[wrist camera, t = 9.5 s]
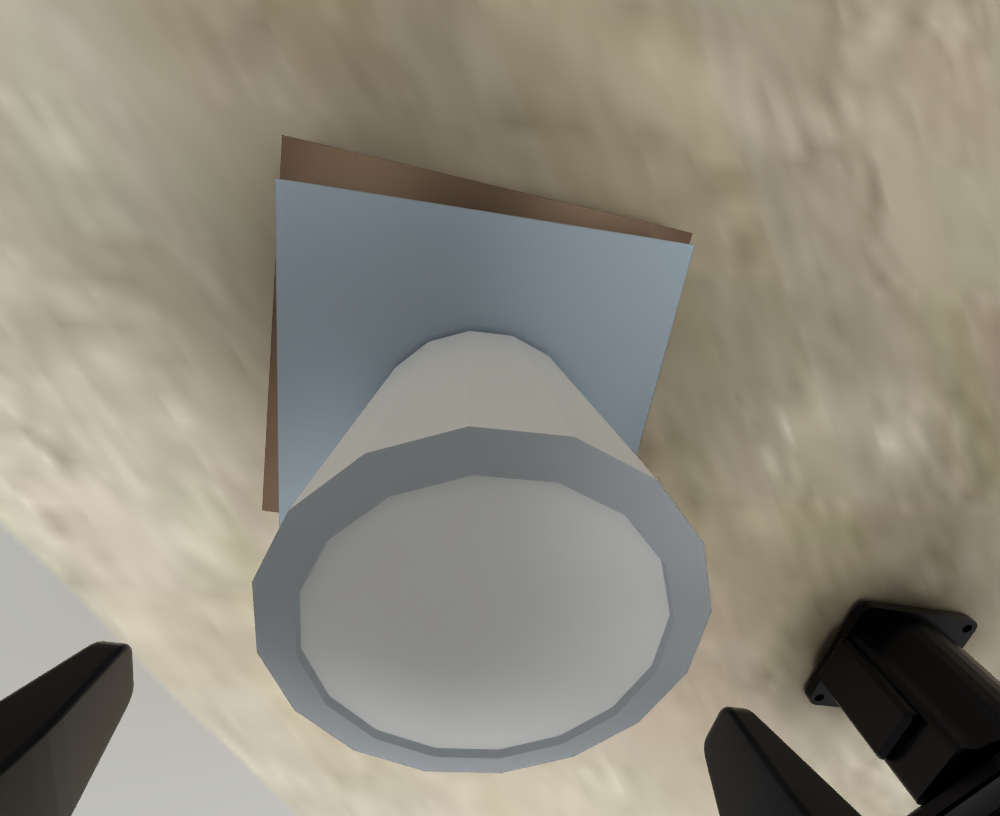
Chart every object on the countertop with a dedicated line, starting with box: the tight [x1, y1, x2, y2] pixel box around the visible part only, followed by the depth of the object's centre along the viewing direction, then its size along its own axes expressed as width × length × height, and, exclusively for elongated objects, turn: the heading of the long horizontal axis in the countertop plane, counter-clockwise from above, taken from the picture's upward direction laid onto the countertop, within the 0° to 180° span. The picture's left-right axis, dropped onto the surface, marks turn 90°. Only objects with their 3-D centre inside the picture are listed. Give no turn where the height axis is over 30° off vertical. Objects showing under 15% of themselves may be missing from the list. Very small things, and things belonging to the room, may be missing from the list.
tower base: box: [262, 135, 692, 512], centre depth 18 cm, size 12×12×3 cm
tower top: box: [275, 179, 694, 528], centre depth 15 cm, size 10×10×3 cm
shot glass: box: [252, 331, 712, 773], centre depth 11 cm, size 7×7×7 cm
